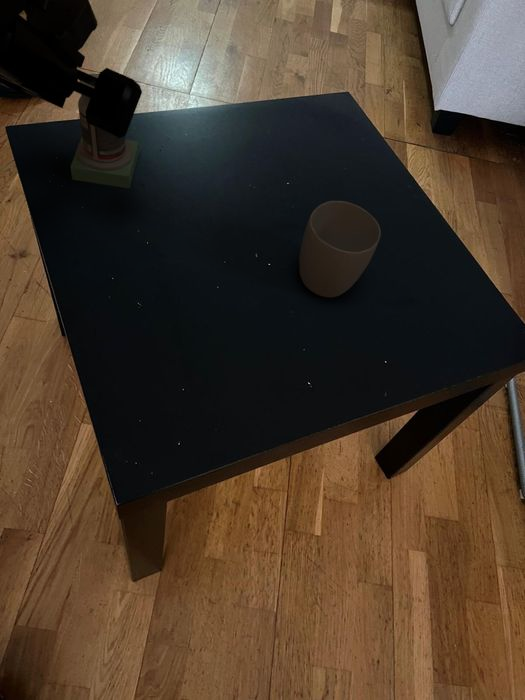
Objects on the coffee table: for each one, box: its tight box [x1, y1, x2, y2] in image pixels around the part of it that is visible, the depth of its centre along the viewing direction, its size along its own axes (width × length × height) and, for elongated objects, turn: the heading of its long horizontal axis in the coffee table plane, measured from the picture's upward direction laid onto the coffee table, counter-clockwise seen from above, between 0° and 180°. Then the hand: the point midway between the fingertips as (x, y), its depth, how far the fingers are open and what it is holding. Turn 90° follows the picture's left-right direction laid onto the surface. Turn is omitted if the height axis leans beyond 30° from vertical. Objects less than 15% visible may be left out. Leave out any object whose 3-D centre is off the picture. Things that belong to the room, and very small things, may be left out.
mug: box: [298, 200, 381, 299], centre depth 70 cm, size 13×9×10 cm
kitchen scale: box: [69, 137, 140, 190], centre depth 77 cm, size 8×8×3 cm
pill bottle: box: [77, 73, 126, 162], centre depth 72 cm, size 6×6×10 cm
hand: (94, 103), depth 69 cm, fingers open, 9 cm apart
